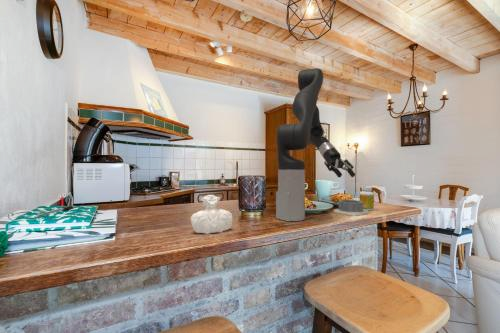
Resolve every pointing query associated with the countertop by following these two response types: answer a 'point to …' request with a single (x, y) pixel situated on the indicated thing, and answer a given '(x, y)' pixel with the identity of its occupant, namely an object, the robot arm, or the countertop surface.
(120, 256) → the countertop surface
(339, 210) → the grey low cylinder
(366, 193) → the beer glass
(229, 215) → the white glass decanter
